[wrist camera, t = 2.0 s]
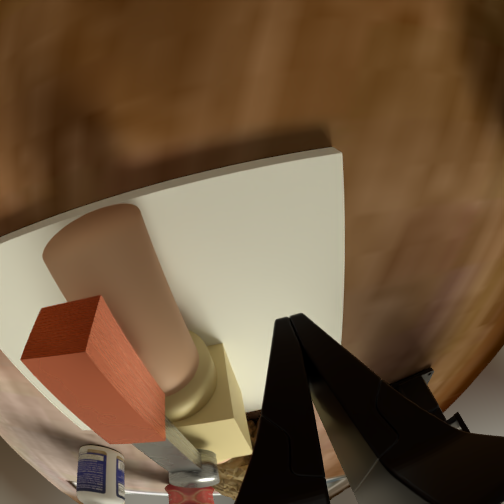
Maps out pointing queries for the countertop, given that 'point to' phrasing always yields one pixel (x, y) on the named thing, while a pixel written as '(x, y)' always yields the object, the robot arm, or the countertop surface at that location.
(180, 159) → the countertop surface
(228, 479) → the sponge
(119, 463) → the pill bottle
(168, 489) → the liquor
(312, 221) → the valve board
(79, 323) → the valve lever
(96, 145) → the countertop surface
